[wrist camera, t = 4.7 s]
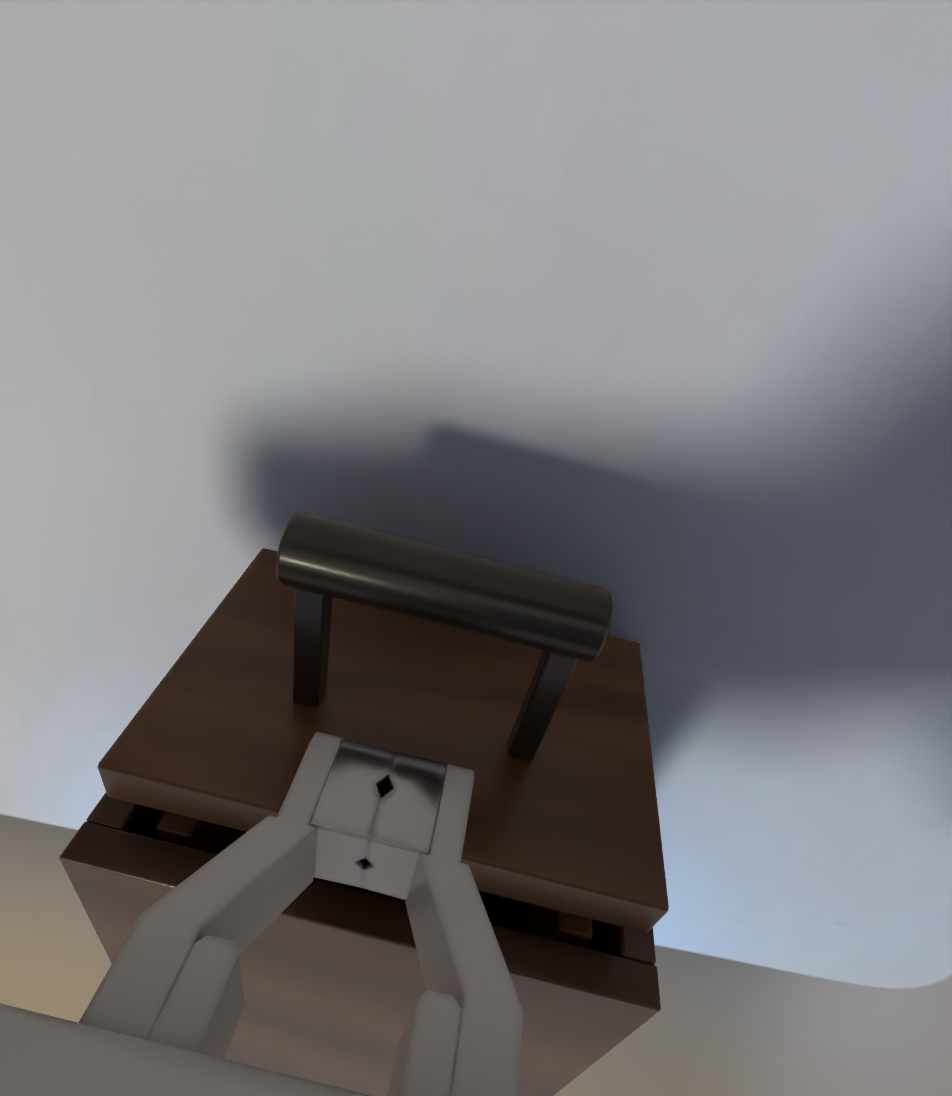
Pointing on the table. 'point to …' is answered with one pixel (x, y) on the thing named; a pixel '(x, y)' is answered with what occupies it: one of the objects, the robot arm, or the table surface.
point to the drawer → (419, 716)
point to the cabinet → (364, 968)
